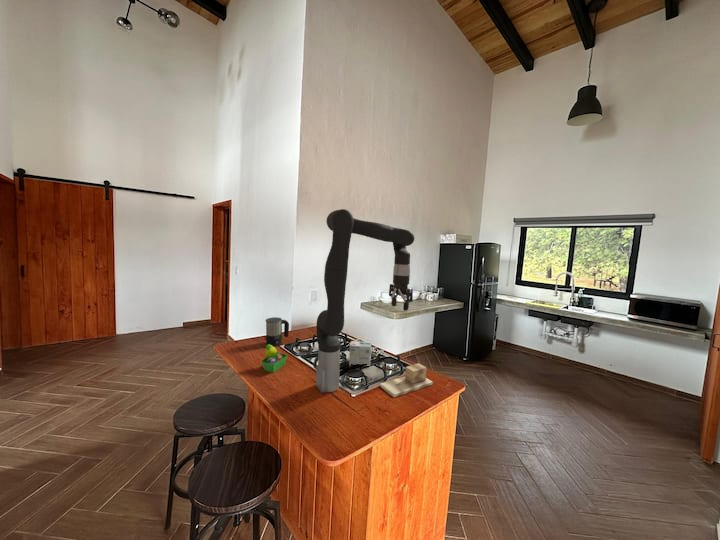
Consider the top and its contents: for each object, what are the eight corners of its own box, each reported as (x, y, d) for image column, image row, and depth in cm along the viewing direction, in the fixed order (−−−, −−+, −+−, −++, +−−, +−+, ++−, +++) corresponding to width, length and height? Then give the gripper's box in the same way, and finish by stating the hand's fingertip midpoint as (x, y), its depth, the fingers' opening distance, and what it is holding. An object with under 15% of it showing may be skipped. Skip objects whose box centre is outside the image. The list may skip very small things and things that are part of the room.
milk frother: (272, 348, 164) (272, 322, 162) (254, 341, 172) (254, 317, 170) (291, 340, 176) (291, 317, 174) (273, 335, 184) (273, 312, 182)
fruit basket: (273, 374, 134) (273, 351, 132) (258, 370, 137) (258, 347, 135) (288, 364, 144) (288, 342, 143) (273, 361, 147) (273, 339, 146)
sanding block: (412, 384, 126) (413, 371, 126) (404, 379, 131) (405, 366, 130) (425, 380, 131) (426, 367, 130) (418, 375, 135) (418, 363, 134)
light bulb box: (370, 361, 151) (371, 341, 149) (369, 367, 144) (370, 346, 143) (350, 360, 152) (351, 340, 150) (348, 365, 145) (349, 345, 144)
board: (393, 397, 118) (394, 394, 118) (379, 386, 126) (379, 383, 126) (432, 384, 130) (432, 381, 129) (417, 374, 138) (417, 372, 138)
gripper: (385, 272, 137) (384, 305, 139) (405, 276, 125) (403, 312, 127) (398, 271, 141) (396, 304, 143) (418, 275, 129) (416, 311, 131)
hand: (399, 308), depth 135 cm, fingers open, 8 cm apart
